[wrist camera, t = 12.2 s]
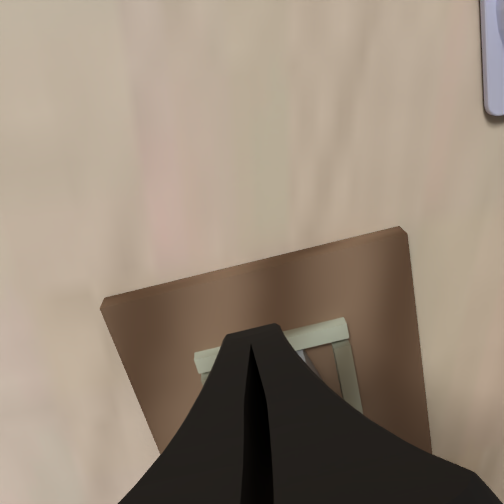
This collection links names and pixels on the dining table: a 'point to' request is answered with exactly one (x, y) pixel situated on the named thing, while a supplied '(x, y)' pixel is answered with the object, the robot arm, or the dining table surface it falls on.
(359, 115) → the dining table surface
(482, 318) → the dining table surface
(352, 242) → the board
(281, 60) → the dining table surface
